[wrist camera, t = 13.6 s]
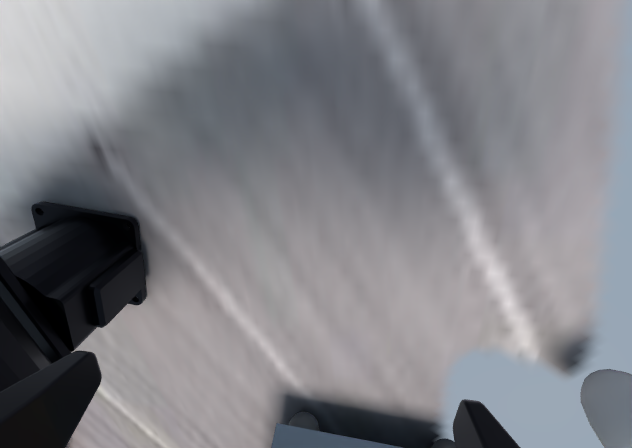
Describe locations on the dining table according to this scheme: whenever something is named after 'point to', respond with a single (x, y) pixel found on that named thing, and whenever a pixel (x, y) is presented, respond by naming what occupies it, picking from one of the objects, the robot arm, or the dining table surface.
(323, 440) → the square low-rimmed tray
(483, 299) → the dining table surface
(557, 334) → the dining table surface
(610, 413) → the donut
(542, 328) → the dining table surface
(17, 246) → the robot arm
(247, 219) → the dining table surface
